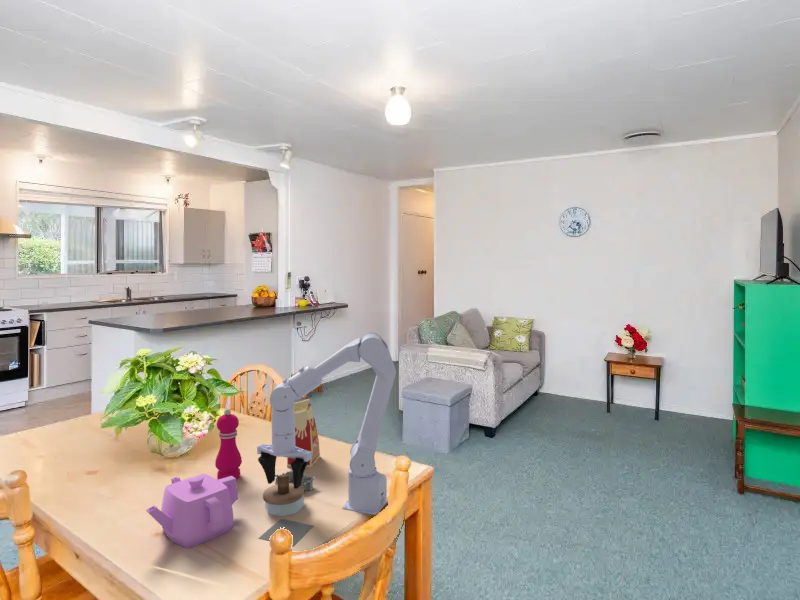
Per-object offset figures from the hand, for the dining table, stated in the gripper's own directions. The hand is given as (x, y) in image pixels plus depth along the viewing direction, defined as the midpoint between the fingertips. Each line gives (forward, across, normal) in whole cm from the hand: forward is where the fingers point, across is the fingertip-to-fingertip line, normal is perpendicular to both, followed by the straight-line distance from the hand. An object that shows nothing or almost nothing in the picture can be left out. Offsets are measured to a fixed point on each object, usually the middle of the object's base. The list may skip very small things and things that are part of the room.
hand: (284, 484), depth 125 cm
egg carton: (+7, +4, -11) cm, 13 cm away
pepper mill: (+6, +25, -10) cm, 28 cm away
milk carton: (+6, +11, -27) cm, 30 cm away
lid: (+3, 0, 0) cm, 3 cm away
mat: (+6, -7, +10) cm, 14 cm away
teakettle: (+6, +14, +16) cm, 22 cm away
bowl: (+6, 0, 0) cm, 6 cm away
